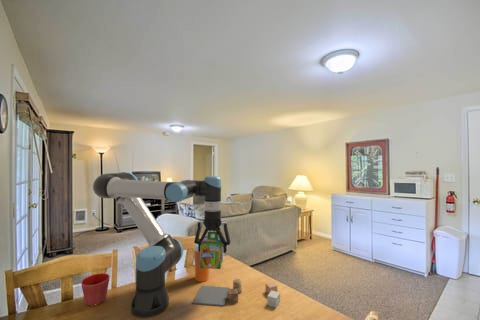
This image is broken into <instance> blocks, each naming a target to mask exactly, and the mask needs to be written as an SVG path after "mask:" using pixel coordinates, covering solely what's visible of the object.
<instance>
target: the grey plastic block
mask: <svg viewBox="0 0 480 320" xmlns="http://www.w3.org/2000/svg"><path fill="white" fill-rule="evenodd" d="M280 302H281V292H280V291H277V292H276V291H272V290H271V292H270V293H269V295H268V294H267V306H269V307H272V308H273V307H274V308H278V307H279V304H280Z"/></svg>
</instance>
